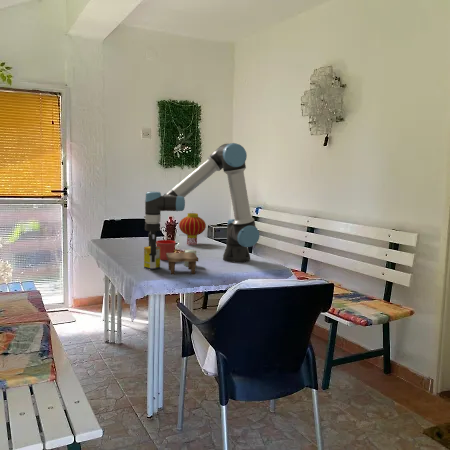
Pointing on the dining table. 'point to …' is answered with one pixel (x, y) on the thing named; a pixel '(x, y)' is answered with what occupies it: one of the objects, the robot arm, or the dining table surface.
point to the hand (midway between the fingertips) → (151, 265)
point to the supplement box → (147, 257)
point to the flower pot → (165, 248)
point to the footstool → (182, 260)
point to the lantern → (192, 227)
